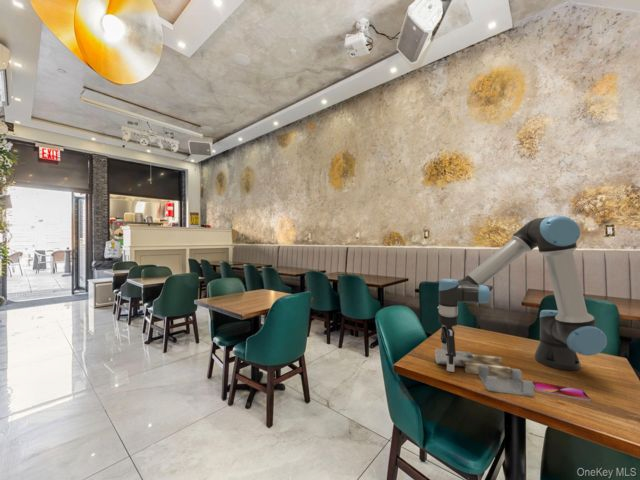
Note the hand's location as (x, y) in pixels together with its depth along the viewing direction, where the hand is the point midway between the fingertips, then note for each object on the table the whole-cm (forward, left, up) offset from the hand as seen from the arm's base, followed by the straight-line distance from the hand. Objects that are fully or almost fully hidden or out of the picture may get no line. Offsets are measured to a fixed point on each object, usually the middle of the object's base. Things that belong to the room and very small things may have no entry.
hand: (447, 364), depth 119 cm
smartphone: (-35, +12, -1) cm, 37 cm away
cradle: (-17, +13, 0) cm, 22 cm away
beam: (-14, 0, 0) cm, 14 cm away
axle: (-3, 0, 0) cm, 3 cm away
